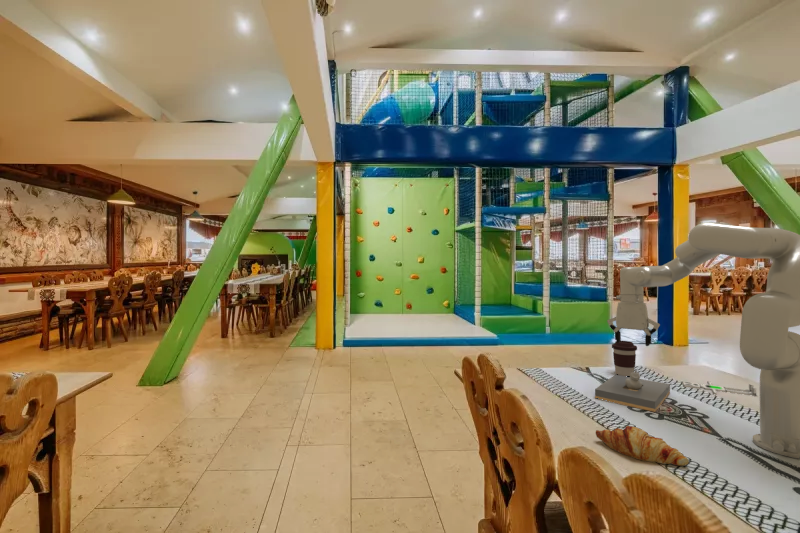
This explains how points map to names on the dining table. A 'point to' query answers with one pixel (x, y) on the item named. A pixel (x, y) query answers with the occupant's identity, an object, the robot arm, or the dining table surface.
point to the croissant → (641, 446)
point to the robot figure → (720, 388)
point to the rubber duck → (633, 381)
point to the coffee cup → (624, 357)
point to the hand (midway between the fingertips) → (632, 343)
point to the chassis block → (633, 393)
